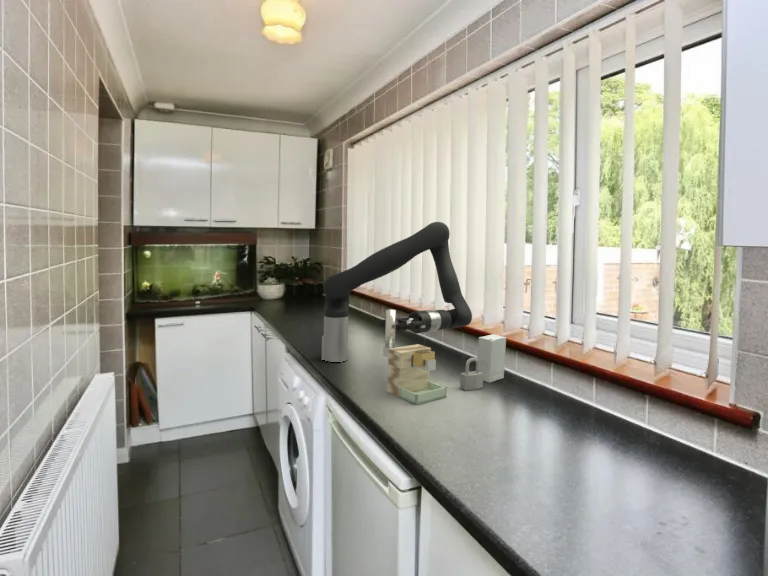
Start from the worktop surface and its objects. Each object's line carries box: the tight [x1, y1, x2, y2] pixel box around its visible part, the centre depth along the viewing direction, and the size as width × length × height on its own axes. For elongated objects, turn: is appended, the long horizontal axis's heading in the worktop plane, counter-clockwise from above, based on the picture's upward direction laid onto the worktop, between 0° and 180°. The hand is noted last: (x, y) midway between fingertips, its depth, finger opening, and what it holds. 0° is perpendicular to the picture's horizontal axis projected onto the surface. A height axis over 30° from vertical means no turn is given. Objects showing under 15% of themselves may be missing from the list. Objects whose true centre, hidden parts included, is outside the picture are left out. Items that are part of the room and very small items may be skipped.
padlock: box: [459, 357, 484, 391], centre depth 144 cm, size 7×4×10 cm, turn 118°
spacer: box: [413, 350, 436, 367], centre depth 133 cm, size 4×5×4 cm
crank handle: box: [382, 308, 437, 372], centre depth 139 cm, size 22×3×15 cm, turn 38°
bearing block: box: [386, 343, 432, 398], centre depth 139 cm, size 6×12×14 cm, turn 127°
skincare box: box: [477, 333, 507, 383], centre depth 154 cm, size 8×6×15 cm
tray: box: [399, 380, 448, 406], centre depth 134 cm, size 7×12×3 cm, turn 127°
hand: (387, 325), depth 145 cm, fingers open, 8 cm apart
